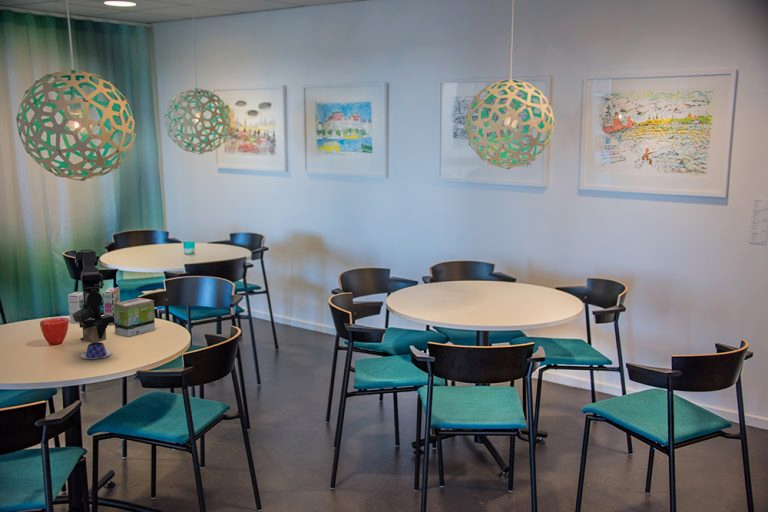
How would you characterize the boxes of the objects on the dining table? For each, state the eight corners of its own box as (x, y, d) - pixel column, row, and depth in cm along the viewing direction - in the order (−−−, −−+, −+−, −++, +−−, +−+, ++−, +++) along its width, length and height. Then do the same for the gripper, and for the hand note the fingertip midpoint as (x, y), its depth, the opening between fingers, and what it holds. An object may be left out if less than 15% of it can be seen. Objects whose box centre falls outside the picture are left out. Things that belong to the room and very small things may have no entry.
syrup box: (80, 323, 332) (78, 294, 329) (69, 323, 333) (67, 294, 331) (87, 320, 337) (85, 292, 335) (77, 320, 339) (75, 291, 336)
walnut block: (84, 341, 282) (83, 328, 281) (96, 337, 287) (95, 325, 286) (93, 343, 279) (93, 330, 278) (106, 339, 284) (105, 327, 283)
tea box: (128, 337, 309) (127, 305, 307) (114, 334, 315) (112, 303, 312) (155, 330, 322) (154, 299, 319) (141, 326, 327) (140, 296, 325)
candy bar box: (114, 325, 329) (112, 292, 327) (104, 325, 329) (102, 292, 326) (121, 319, 340) (119, 287, 338) (111, 319, 340) (109, 287, 337)
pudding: (83, 352, 289) (83, 340, 288) (114, 350, 291) (113, 338, 290) (77, 361, 277) (76, 349, 276) (109, 359, 280) (108, 347, 279)
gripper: (60, 302, 278) (63, 339, 281) (90, 308, 269) (93, 346, 271) (84, 296, 287) (87, 332, 290) (114, 302, 278) (116, 339, 281)
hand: (95, 337), depth 283 cm, fingers closed on walnut block, 6 cm apart
